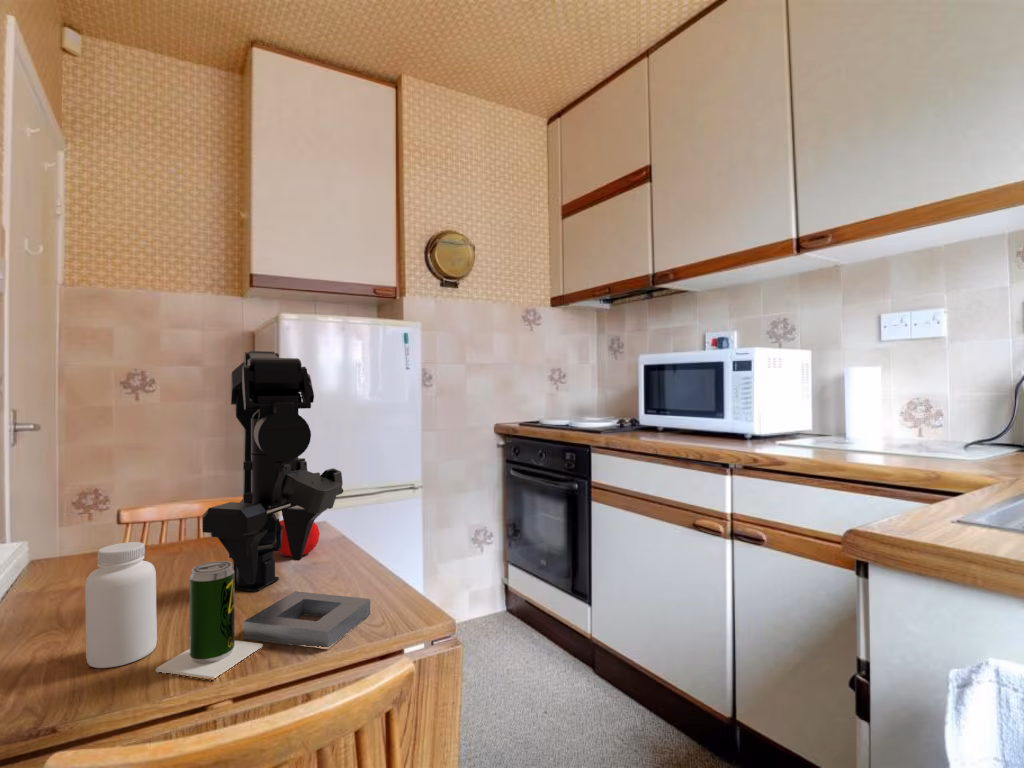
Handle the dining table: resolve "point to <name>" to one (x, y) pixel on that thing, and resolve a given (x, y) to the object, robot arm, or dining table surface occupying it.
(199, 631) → the green silver-topped cylinder
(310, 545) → the tomato
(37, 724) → the dining table surface
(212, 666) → the tile
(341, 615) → the frame
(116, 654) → the pill bottle
